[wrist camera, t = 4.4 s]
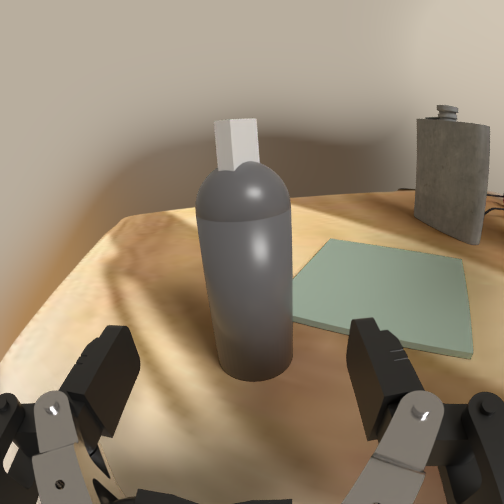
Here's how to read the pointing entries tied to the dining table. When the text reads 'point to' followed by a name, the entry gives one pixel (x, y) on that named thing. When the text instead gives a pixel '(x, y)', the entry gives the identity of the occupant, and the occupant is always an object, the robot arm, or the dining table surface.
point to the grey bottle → (247, 256)
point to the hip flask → (452, 174)
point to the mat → (387, 295)
